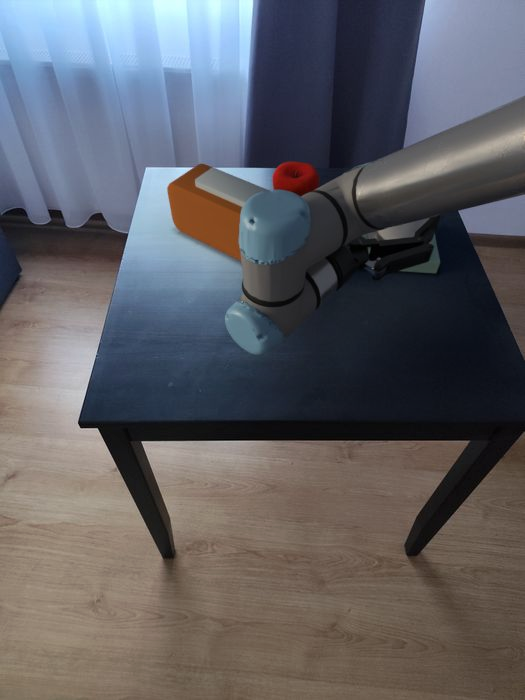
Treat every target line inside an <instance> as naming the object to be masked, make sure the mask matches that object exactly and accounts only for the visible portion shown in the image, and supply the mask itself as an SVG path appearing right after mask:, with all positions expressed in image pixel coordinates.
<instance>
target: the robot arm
mask: <svg viewBox="0 0 525 700" xmlns="http://www.w3.org/2000/svg"><path fill="white" fill-rule="evenodd" d="M271 191H272V192H264V191H263V192H260V193H257V194H255V195H253V196H252V197H250V198H249V199H248V200H247V201H246V202H245V204H244V205H243V207H242V210H241V214H240V224H239V247H240V252H241V261H240V262H241V270H242V271H241V273H242V280H241V297H240V298H239V299H238V300H235V301H234V302H233V304H232V305H231V306H230V307H229V308H228V309H227V310H226V313H225V314H224V323H225V327H226V329H227V330H226V331H228V334H229V335H230V337H231V338H232V339H233V341H234V342H235V343H236V345H238V346H239V347H240V348H241V349H243V350H244V351H246V352H247V353H249V354H252V355H254V356H265V355H267V354H269V353H270V352H271V351H273V350H274V349H275V348H276V347H277V346H278V345H280V344H282V343H284V342H285V341H286V340H287V338H288V337H289V336H290V335H292V334H293V333H294V332H295V331H296V330H297V329H298V328H300V326H301V325H302V324H303V323H304V322H305V321H307V320H308V318H309V317H310V316H312V315H313V314H314V313H315V312H316V310H318V309H319V308H321V306H322V305H324V303H326V302H327V301H328V300H329V299H331V297H332V296H333V295H334V294H335V293H336V292H338V291H339V290H340V289H341V288H343V286H345V285H346V284H347V283H348V282H349V281H350V280H352V278H353V277H354V275H355V274H357V272H359V271H363V270H365V271H367V272H368V273H370V274H372V275H371V280H372V281H374V282H378V281H380V280H382V279H383V278H384V277H386V276H388V275H390V274H393V273H396V272H397V273H398V272H401V271H400V270H403V269H407V268H410V267H413V266H416V265H420V264H423V263H426V262H429V260H430V257H431V255H432V252H433V249H434V246H433V245H432V244H429V243H430V242H431V241H432V239H433V236H434V234H436V233H435V232H436V229H438V225H439V222H440V219H441V216H444V215H447V214H451V213H455V212H460V211H463V210H467V209H473V208H475V207H479V206H483V205H487V204H493V203H496V202H500V201H504V200H508V199H512V198H513V199H514V198H515V197H516V198H517V197H521V196H524V195H525V95H523V96H521V97H519V98H518V97H517V98H516V99H514V100H512V101H510V102H507V103H505V104H502V105H500V106H498V107H496V108H493V109H491V110H488V111H486V112H483V113H482V114H479V115H477V116H475V117H473V118H470V119H468V120H465V121H463V122H461V123H458V124H456V125H453V126H452V127H450V128H449V127H448V128H447V129H444V130H443V131H440V132H438V133H436V134H433V135H431V136H429V137H426V138H424V139H422V140H419V141H417V142H415V143H412V144H410V145H409V146H406V147H404V148H401V149H399V150H397V151H394V152H392V153H390V154H388V155H384V156H383V157H381V158H378V159H376V160H374V161H369V162H366V163H364V164H360V165H357V166H354V167H353V168H351V169H349V170H347V171H345V172H344V173H343V174H341V175H339V176H338V177H336V178H333V179H332V180H329V181H328V182H326V183H325V184H323V185H321V186H318V188H317V189H315V190H314V191H310V192H309V193H307V194H305V195H303V196H301V197H300V196H299V195H297V194H295V193H293V192H290V191H286V190H274V189H273V190H271ZM427 218H430V219H429V220H428V221H427V222H425V223H424V224H423V225H422V226H421V227H420V228H419V229H418V230H417V231H416V232H415V235H414V237H408V238H399V239H389V240H380V241H378V240H377V239H376V238H372V239H366V238H364V237H362V235H364V234H368V233H372V232H376V231H380V230H383V229H387V228H390V227H394V226H398V225H402V224H406V223H410V222H415V221H419V220H423V219H427ZM368 247H371V249H370V253H368Z"/></svg>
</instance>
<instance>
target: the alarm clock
mask: <svg viewBox="0 0 525 700" xmlns="http://www.w3.org/2000/svg"><path fill="white" fill-rule="evenodd" d="M166 190H167V197H168V203H169V208H170V214H171V219H172V221H173V222H172V223H173V224H174V226H175V227H176V229H177V230H178V231H179V232H181V233H183V234H185V235H187V236H188V237H190V238H193V239H195V240H196V241H199V242H201V243H203V244H205V245H206V246H209V247H211V248H213V249H215V250H217V251H219V252H222V253H223V254H225V255H228V256H229V257H232V258H234V259H235V260H238V261H240V262H241V252H240V247H239V224H240V214H241V210H242V207H243V205H244V204H245V202H246V201H247V200H248V199H249V198H250V197H252V196H253V195H255V194H257V193H260V192H263V191H264V192H272V191H273V190H270V189H268V188H264V187H262V186H260V185H258V184H255V183H252V182H250V181H248V180H245V179H244V178H243V179H242V178H240V177H237V176H235V175H233V174H230V173H228V172H226V171H223V170H221V169H218V168H216V167H213V166H211V165H208V164H205V163H199V164H196V165H195V166H194V167H192V168H190V169H189V170H188V171H186V172H185V173H183V174H182V175H180V176H179V177H177V178H176V179H174V180H173V181H171V182H169V183H168V185H167V188H166Z"/></svg>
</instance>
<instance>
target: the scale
mask: <svg viewBox="0 0 525 700" xmlns="http://www.w3.org/2000/svg"><path fill="white" fill-rule="evenodd" d="M429 219H430V218H429ZM435 234H436V233H434V236H433V239H432V245H433V246H434V249H433V252H432V255H431V257H430V260H429V262H426V263H423V264H420V265H416V266H413V267H410V268H407V269H403V270H400V271H399V272H407V273H423V274H437V273H438V269H439V267H440V264H441V259H440V253H439V249H438V245H437V239H436V235H435ZM362 237H364V238H366V239H367V234H364V235H362ZM368 253H370V249H369V248H368Z"/></svg>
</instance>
